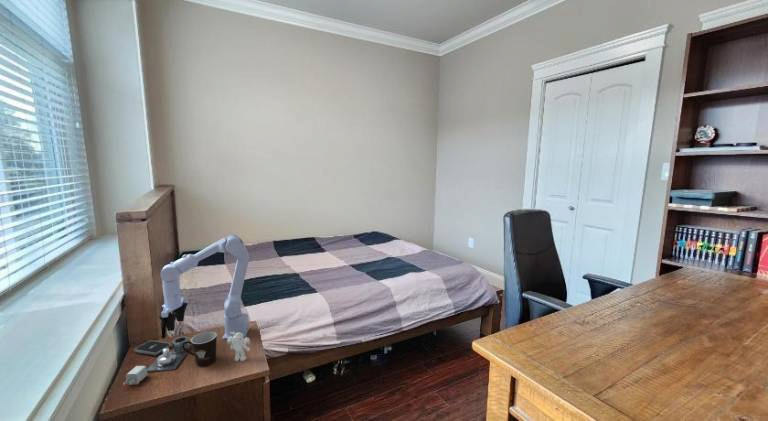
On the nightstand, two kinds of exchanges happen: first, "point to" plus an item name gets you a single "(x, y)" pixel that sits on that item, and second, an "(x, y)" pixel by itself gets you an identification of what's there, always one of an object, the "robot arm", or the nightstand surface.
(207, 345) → the coffee mug
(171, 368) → the silver sculpture on base
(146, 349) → the external hard drive
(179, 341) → the ring
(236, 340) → the hat wearing toy figure
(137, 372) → the usb wall charger
